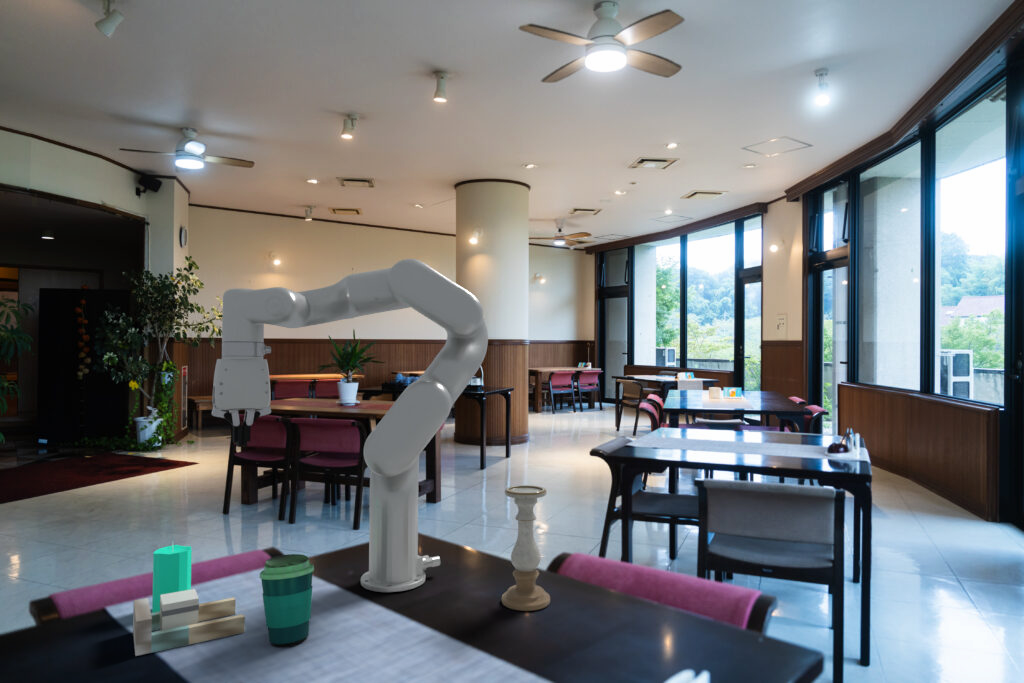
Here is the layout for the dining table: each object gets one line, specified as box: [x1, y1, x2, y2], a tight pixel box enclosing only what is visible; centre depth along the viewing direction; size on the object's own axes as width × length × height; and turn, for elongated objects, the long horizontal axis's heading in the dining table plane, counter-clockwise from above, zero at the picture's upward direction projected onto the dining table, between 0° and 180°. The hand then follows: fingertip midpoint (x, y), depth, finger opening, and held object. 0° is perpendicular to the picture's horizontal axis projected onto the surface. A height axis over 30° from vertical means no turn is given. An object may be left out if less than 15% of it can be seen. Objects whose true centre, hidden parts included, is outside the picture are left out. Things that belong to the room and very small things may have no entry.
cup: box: [259, 553, 315, 648], centre depth 99 cm, size 8×8×12 cm
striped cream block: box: [159, 588, 200, 631], centre depth 100 cm, size 5×5×6 cm
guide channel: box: [132, 597, 246, 657], centre depth 100 cm, size 15×10×5 cm, turn 123°
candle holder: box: [501, 484, 551, 612], centre depth 113 cm, size 9×9×20 cm
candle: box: [151, 540, 193, 613], centre depth 110 cm, size 6×6×12 cm
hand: (241, 445), depth 122 cm, fingers closed
